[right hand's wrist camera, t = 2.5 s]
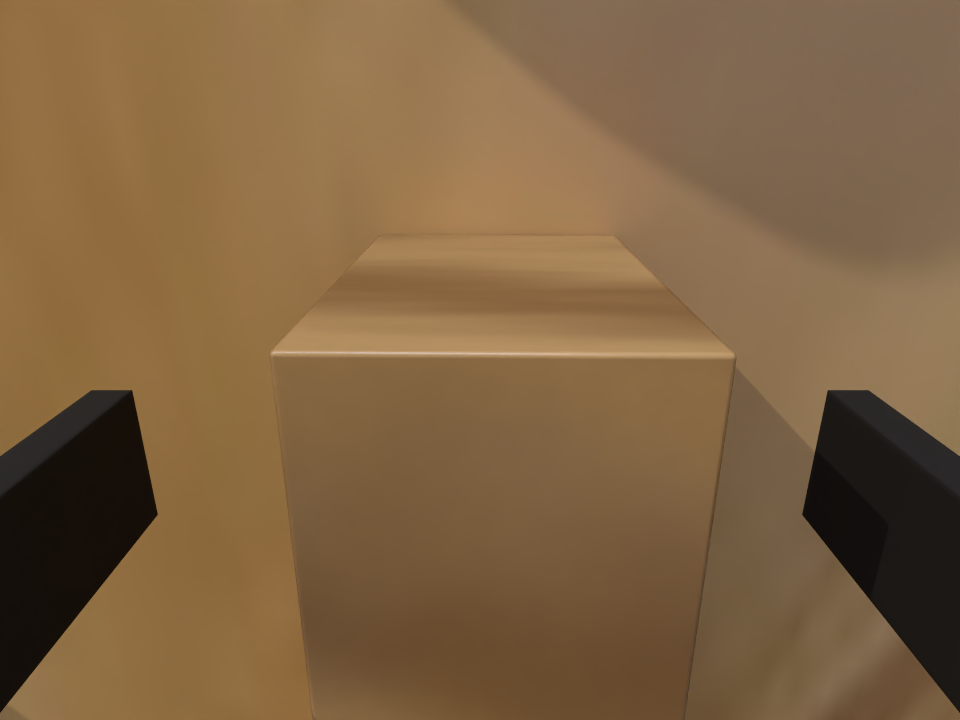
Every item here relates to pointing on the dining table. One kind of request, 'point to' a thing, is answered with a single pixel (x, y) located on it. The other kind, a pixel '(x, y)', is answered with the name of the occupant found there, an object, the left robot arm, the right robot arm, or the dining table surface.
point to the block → (500, 481)
